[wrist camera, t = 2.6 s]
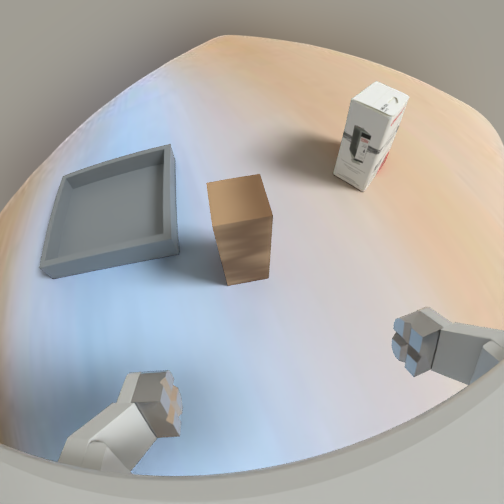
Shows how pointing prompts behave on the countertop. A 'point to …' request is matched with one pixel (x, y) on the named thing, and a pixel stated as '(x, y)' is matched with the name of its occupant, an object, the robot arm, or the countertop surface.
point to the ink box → (369, 133)
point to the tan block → (241, 227)
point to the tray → (113, 215)
